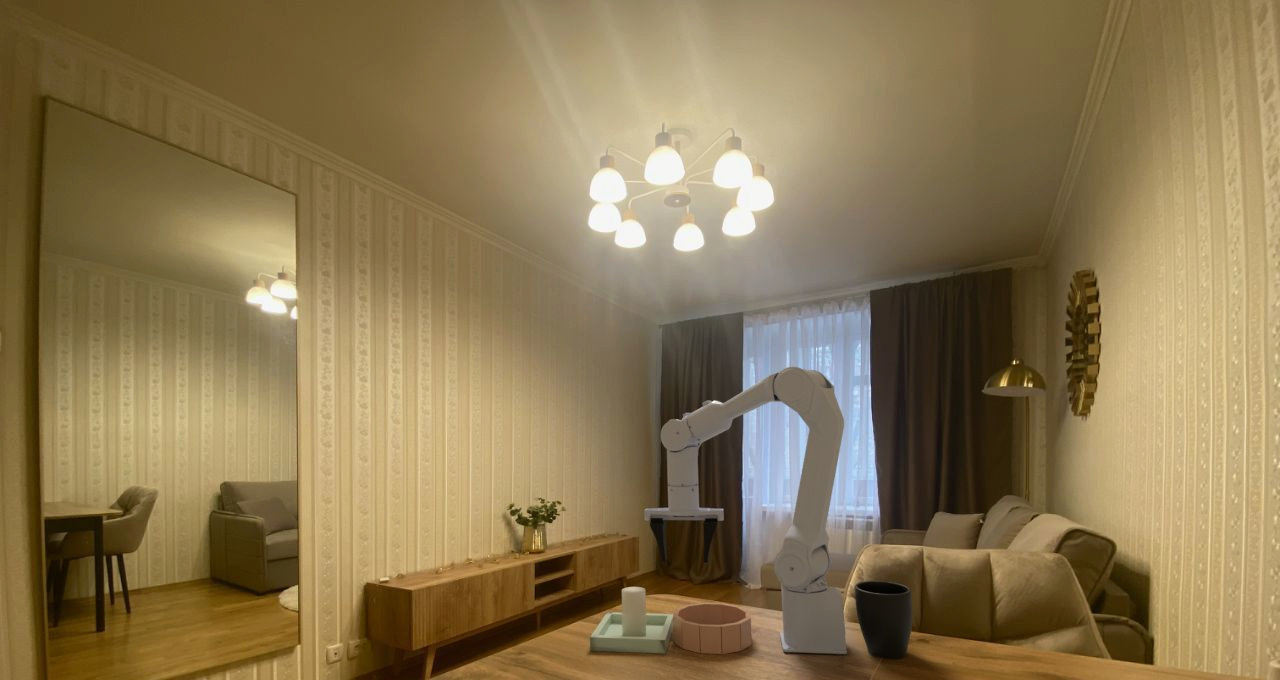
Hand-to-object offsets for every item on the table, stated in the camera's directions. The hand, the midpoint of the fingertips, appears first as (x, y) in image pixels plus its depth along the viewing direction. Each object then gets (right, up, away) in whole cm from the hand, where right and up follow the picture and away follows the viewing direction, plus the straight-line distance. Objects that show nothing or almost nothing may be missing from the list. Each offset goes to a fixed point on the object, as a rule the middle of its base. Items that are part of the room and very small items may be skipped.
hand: (685, 561), depth 111 cm
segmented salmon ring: (+4, -9, -11) cm, 15 cm away
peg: (-9, -9, -9) cm, 16 cm away
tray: (-9, -9, -10) cm, 16 cm away
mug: (+30, -8, -16) cm, 35 cm away
